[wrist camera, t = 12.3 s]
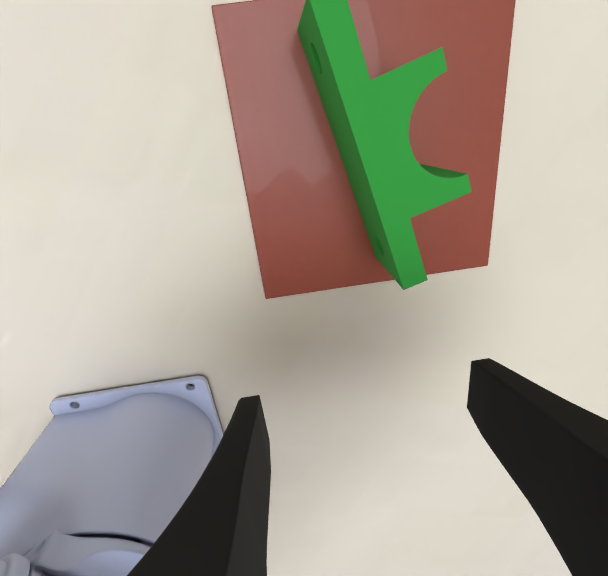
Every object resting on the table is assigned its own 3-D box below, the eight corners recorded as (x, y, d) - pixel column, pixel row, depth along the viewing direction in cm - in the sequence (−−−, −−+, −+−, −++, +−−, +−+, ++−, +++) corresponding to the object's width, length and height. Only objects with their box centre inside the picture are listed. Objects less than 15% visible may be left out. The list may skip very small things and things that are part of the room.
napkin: (265, 296, 20) (265, 299, 20) (212, 7, 15) (211, 5, 14) (485, 263, 21) (488, 265, 20) (514, -29, 15) (519, -32, 15)
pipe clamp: (438, 229, 19) (485, 257, 15) (374, 256, 20) (403, 291, 16) (378, -12, 15) (422, -66, 11) (295, 28, 15) (307, -9, 11)
